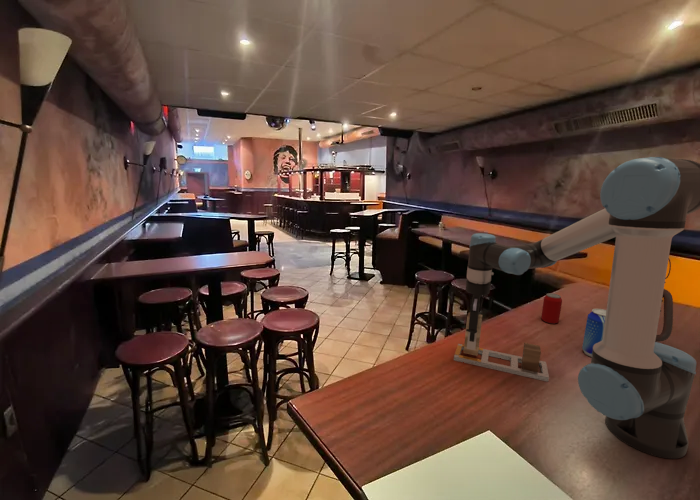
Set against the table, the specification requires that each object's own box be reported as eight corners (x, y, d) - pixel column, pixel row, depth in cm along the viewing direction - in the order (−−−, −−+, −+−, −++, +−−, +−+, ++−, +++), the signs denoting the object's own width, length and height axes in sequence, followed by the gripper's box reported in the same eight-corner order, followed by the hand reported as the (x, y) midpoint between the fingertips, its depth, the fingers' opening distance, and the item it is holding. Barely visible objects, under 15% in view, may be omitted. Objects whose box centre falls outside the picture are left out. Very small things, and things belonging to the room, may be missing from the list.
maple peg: (477, 355, 115) (481, 319, 112) (463, 352, 117) (467, 317, 114) (478, 350, 119) (482, 315, 116) (465, 347, 121) (468, 312, 118)
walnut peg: (537, 375, 108) (540, 351, 106) (521, 371, 110) (524, 348, 108) (536, 368, 112) (539, 345, 110) (521, 364, 114) (524, 342, 112)
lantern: (619, 331, 140) (635, 248, 133) (671, 348, 127) (692, 256, 120) (607, 338, 134) (624, 251, 127) (661, 356, 121) (683, 260, 114)
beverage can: (558, 320, 150) (562, 294, 148) (558, 325, 145) (562, 299, 142) (541, 317, 154) (545, 291, 152) (540, 322, 148) (544, 295, 146)
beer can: (615, 362, 117) (624, 318, 113) (588, 359, 118) (595, 315, 115) (602, 350, 125) (610, 308, 121) (577, 347, 126) (584, 306, 123)
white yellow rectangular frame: (548, 381, 104) (549, 376, 104) (453, 360, 116) (454, 355, 115) (545, 366, 113) (546, 361, 113) (457, 347, 125) (458, 343, 124)
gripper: (489, 290, 103) (481, 360, 108) (492, 275, 119) (485, 337, 124) (463, 286, 106) (456, 354, 111) (469, 272, 122) (463, 333, 127)
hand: (471, 345), depth 117 cm, fingers closed on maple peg, 5 cm apart
